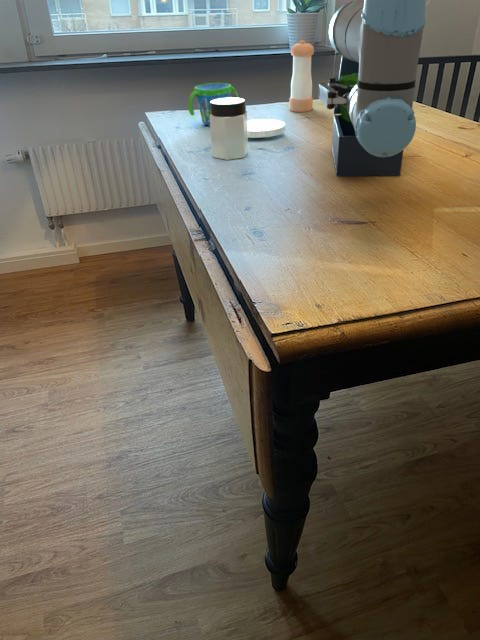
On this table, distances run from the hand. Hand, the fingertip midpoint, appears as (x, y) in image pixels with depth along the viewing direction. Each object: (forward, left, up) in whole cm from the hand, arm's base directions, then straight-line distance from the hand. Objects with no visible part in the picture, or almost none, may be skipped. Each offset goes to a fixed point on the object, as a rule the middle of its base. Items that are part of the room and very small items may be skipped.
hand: (358, 82), depth 96 cm
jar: (+25, +17, -17) cm, 35 cm away
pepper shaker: (+59, -22, -17) cm, 65 cm away
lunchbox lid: (+6, -7, -2) cm, 9 cm away
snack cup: (+57, +8, -17) cm, 60 cm away
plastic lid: (+38, +3, -17) cm, 42 cm away
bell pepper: (-4, +2, -6) cm, 8 cm away
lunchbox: (+4, -6, -17) cm, 19 cm away
